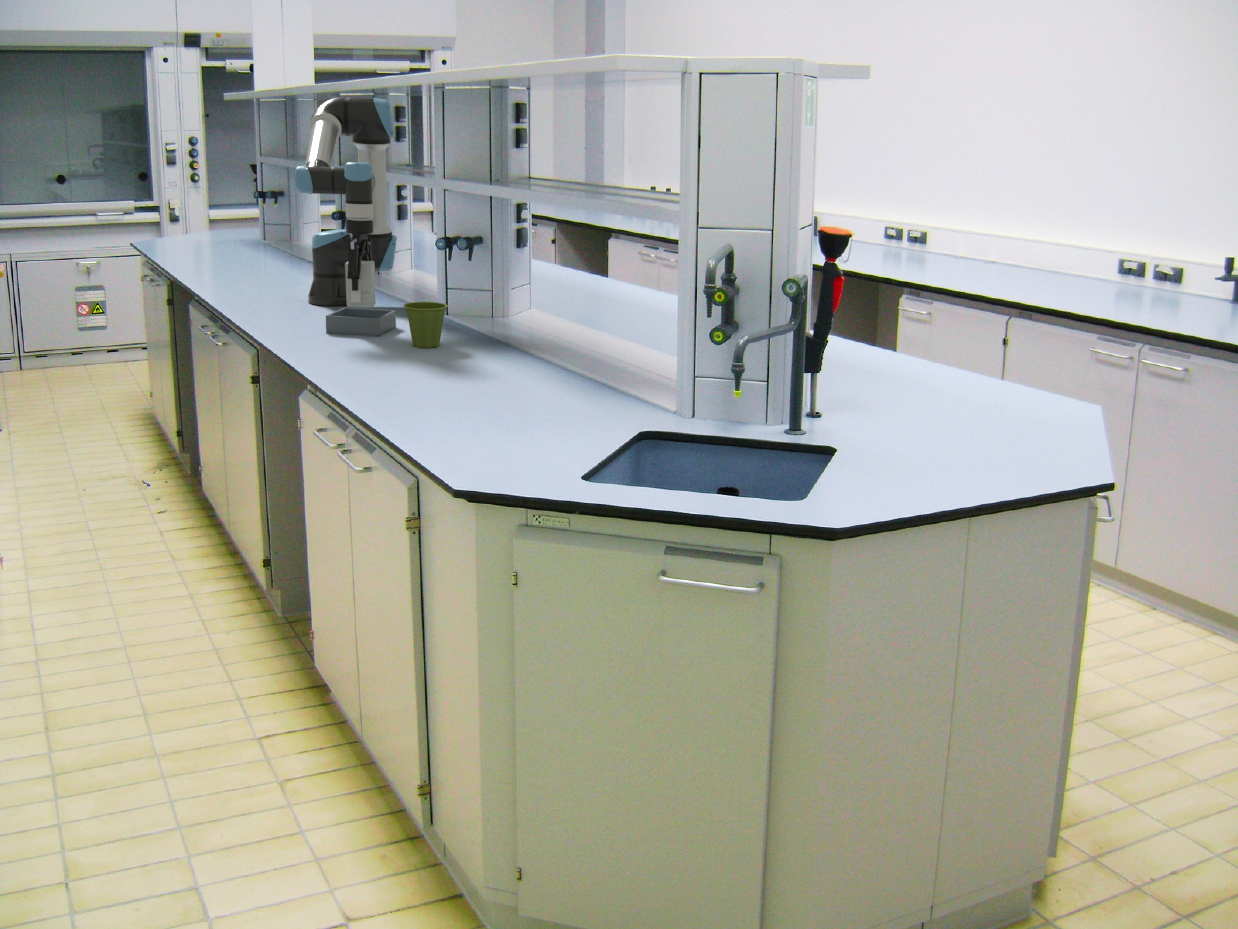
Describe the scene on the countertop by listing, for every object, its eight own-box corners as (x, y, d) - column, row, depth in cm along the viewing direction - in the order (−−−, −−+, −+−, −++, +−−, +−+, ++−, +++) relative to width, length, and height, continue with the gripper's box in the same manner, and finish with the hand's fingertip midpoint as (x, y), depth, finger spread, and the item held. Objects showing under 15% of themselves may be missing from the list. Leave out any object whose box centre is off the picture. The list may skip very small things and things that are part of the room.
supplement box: (376, 304, 340) (375, 260, 337) (371, 308, 333) (371, 263, 329) (350, 303, 340) (349, 259, 336) (345, 307, 333) (344, 262, 329)
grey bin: (344, 324, 347) (343, 307, 345) (395, 327, 345) (395, 310, 344) (326, 333, 332) (325, 315, 330) (379, 336, 330) (379, 319, 329)
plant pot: (400, 342, 323) (399, 301, 320) (442, 341, 327) (442, 301, 324) (408, 350, 313) (407, 308, 310) (452, 349, 317) (452, 308, 314)
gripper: (358, 215, 340) (359, 294, 346) (334, 220, 320) (336, 304, 326) (383, 216, 339) (384, 295, 345) (360, 222, 319) (362, 305, 326)
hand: (361, 299), depth 336 cm, fingers closed on supplement box, 8 cm apart
